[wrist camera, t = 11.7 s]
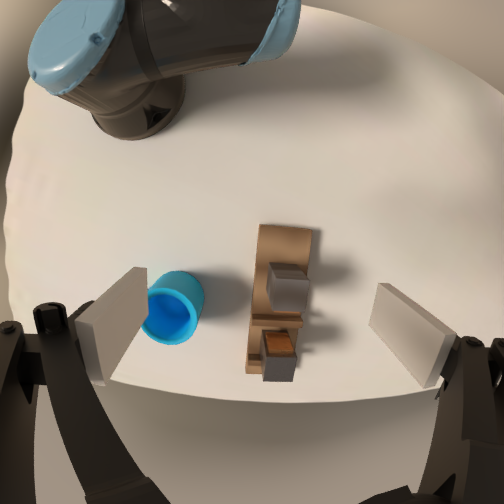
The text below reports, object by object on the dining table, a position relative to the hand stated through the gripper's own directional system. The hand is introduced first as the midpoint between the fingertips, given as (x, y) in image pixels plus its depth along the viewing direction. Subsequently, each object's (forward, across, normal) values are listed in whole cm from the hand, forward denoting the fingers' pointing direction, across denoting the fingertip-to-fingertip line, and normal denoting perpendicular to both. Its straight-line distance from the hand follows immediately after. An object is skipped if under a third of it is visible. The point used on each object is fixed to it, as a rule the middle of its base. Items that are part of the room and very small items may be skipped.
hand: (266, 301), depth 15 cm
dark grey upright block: (+24, +5, -17) cm, 30 cm away
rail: (+26, +5, -12) cm, 29 cm away
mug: (+27, -12, -11) cm, 31 cm away
